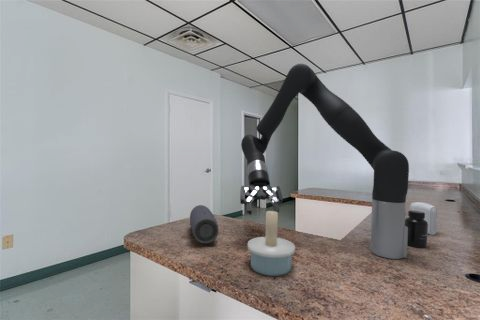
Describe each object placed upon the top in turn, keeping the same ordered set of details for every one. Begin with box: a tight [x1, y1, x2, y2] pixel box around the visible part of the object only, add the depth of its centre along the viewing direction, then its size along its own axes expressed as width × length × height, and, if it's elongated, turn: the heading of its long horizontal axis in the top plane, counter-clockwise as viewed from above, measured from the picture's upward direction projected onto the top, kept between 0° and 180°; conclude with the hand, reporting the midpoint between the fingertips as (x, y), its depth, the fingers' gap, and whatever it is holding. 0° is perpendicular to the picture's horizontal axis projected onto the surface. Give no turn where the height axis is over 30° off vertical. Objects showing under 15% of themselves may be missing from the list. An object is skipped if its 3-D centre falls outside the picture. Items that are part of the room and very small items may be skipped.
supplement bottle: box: [405, 209, 429, 249], centre depth 88 cm, size 7×7×12 cm
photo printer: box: [409, 201, 438, 236], centre depth 105 cm, size 10×4×12 cm, turn 13°
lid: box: [247, 210, 296, 258], centre depth 68 cm, size 13×13×10 cm
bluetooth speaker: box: [189, 204, 220, 244], centre depth 91 cm, size 23×9×10 cm, turn 14°
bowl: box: [250, 252, 293, 277], centre depth 68 cm, size 11×11×5 cm
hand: (263, 213), depth 79 cm, fingers open, 8 cm apart
